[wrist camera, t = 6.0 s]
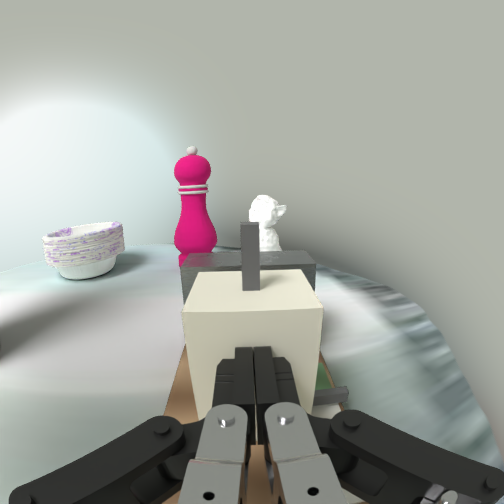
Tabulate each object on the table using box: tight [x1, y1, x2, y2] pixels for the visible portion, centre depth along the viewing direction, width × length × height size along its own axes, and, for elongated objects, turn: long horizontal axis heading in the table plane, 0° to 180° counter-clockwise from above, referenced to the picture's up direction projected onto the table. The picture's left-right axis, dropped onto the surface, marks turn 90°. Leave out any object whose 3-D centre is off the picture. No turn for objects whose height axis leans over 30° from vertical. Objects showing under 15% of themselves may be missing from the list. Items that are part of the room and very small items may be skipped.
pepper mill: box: [174, 146, 217, 267], centre depth 48 cm, size 7×7×20 cm
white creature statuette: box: [249, 195, 286, 251], centre depth 42 cm, size 10×9×12 cm
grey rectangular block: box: [180, 250, 316, 305], centre depth 24 cm, size 4×10×7 cm, turn 92°
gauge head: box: [181, 222, 349, 441], centre depth 14 cm, size 5×8×11 cm, turn 92°
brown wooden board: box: [162, 343, 369, 504], centre depth 17 cm, size 22×11×1 cm, turn 2°
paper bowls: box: [42, 222, 125, 280], centre depth 46 cm, size 15×15×8 cm
